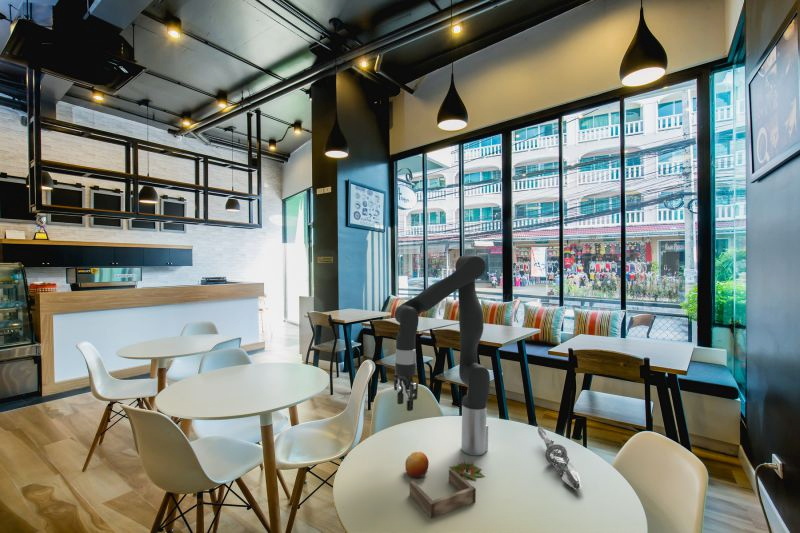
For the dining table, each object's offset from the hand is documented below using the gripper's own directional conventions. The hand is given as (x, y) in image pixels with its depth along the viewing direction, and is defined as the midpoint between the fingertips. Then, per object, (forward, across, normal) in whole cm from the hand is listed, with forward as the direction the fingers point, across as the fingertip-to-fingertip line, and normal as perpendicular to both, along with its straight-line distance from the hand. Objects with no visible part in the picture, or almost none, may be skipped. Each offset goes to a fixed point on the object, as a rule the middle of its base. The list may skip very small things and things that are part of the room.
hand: (404, 406), depth 134 cm
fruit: (+20, -9, 0) cm, 22 cm away
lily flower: (+20, -16, -16) cm, 30 cm away
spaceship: (+20, -27, -47) cm, 58 cm away
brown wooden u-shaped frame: (+20, -24, 0) cm, 31 cm away
